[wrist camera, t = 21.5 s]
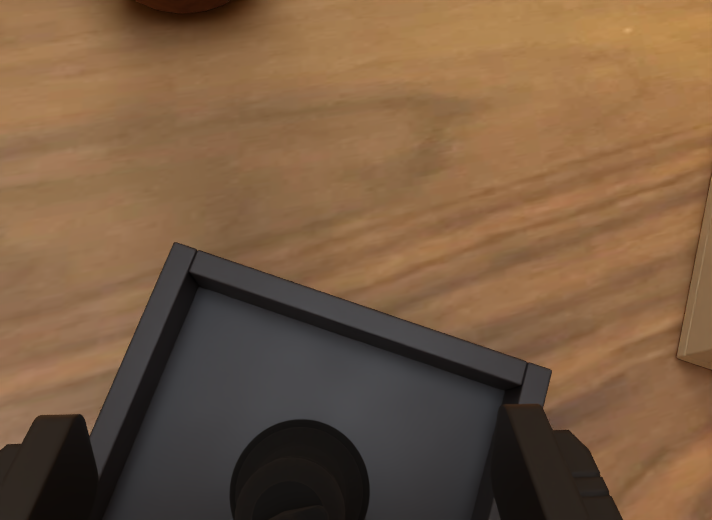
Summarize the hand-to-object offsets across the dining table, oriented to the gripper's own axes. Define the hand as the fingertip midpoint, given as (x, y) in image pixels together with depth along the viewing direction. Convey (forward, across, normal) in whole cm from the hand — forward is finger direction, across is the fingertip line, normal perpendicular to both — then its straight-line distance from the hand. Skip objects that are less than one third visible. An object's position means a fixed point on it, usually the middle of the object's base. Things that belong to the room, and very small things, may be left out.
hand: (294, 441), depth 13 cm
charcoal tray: (+6, 0, +8) cm, 10 cm away
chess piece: (+5, 0, +7) cm, 9 cm away
